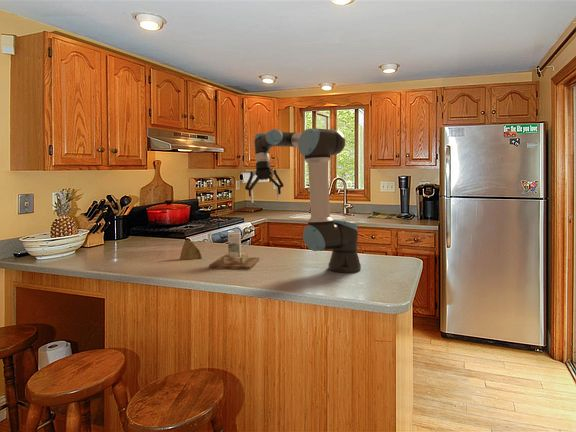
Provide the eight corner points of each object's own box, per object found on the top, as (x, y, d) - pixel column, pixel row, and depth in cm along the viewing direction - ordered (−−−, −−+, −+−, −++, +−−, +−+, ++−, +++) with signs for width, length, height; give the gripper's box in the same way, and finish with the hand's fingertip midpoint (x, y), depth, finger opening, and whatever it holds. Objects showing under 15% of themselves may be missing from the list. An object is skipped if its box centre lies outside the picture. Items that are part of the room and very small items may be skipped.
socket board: (259, 260, 225) (259, 251, 224) (250, 269, 205) (249, 260, 204) (221, 259, 228) (221, 250, 227) (209, 268, 208) (208, 259, 208)
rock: (206, 252, 234) (189, 249, 237) (202, 241, 228) (185, 238, 231) (197, 268, 227) (180, 264, 229) (193, 257, 221) (175, 253, 223)
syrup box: (241, 259, 219) (240, 231, 217) (240, 262, 213) (239, 233, 212) (230, 260, 219) (229, 231, 218) (228, 262, 213) (227, 233, 212)
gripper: (286, 162, 236) (289, 200, 232) (240, 166, 237) (242, 204, 233) (285, 158, 228) (288, 197, 224) (238, 162, 230) (240, 201, 226)
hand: (265, 201), depth 229 cm, fingers open, 13 cm apart
